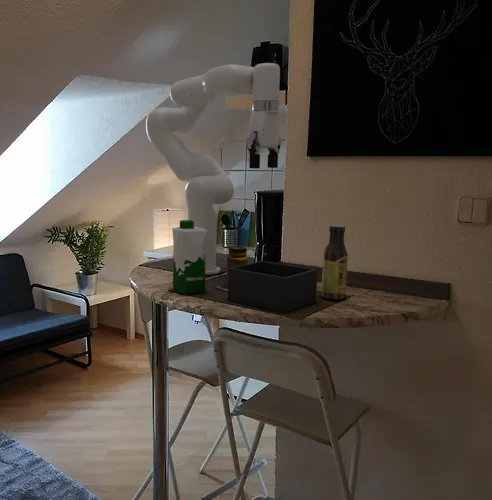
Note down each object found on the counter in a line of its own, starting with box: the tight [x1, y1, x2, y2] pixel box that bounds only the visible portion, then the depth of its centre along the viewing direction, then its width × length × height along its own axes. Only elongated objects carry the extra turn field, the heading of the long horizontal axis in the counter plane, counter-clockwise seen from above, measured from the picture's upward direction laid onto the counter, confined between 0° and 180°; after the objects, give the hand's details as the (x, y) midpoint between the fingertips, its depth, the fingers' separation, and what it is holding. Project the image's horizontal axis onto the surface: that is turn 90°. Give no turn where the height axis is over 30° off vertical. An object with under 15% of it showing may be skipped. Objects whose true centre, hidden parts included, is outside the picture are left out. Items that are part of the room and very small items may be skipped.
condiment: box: [215, 246, 249, 292], centre depth 169 cm, size 7×8×12 cm
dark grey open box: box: [227, 260, 319, 314], centre depth 155 cm, size 18×16×9 cm
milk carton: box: [172, 219, 208, 295], centre depth 165 cm, size 9×9×20 cm
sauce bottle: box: [321, 224, 349, 301], centre depth 158 cm, size 7×6×20 cm
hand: (263, 168), depth 170 cm, fingers open, 9 cm apart
